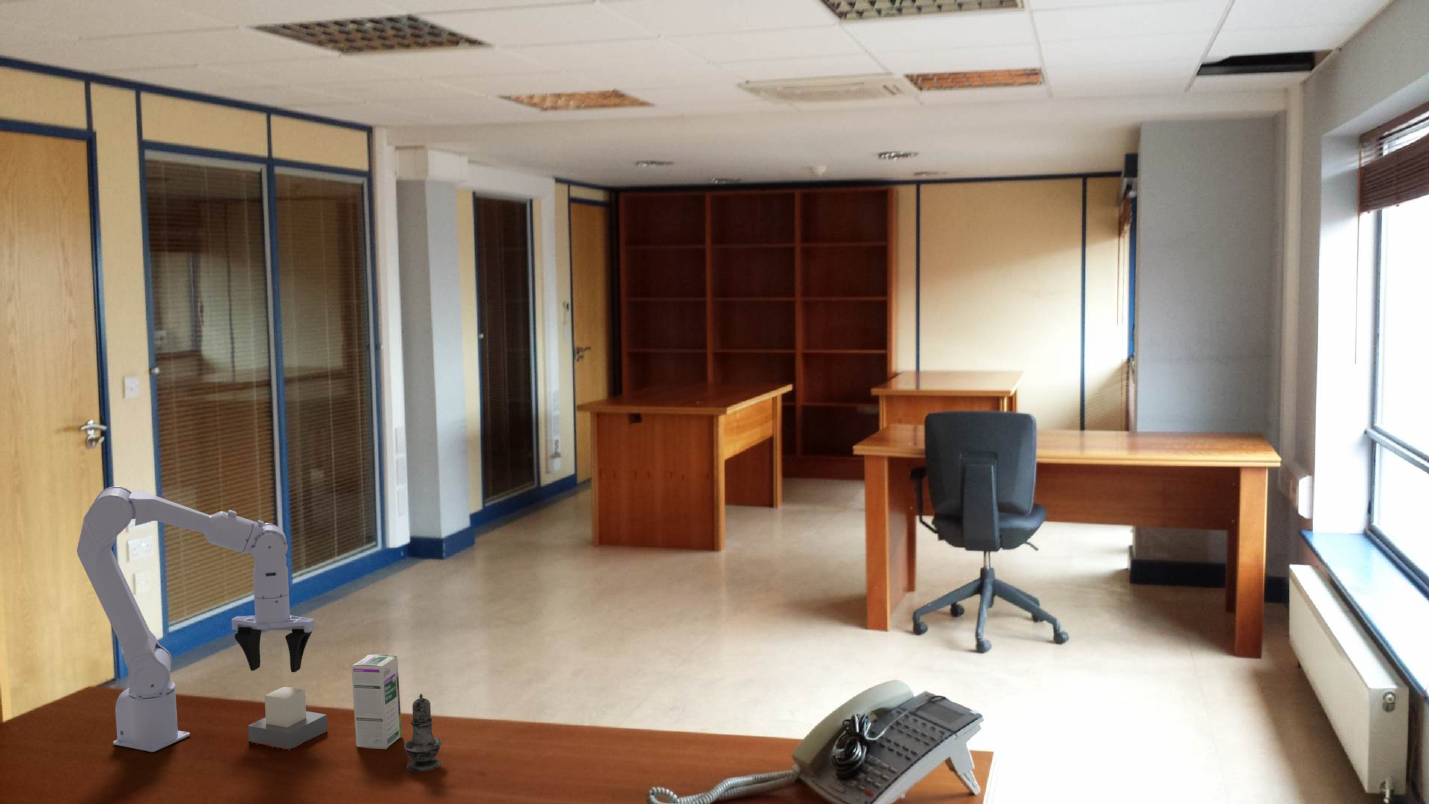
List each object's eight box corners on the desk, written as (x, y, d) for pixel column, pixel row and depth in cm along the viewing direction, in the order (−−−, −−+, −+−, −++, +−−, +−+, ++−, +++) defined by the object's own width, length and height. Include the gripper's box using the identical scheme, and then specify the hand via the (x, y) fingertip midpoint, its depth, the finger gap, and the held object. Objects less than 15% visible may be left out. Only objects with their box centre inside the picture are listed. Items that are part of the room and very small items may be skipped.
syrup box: (386, 749, 198) (383, 665, 196) (354, 747, 199) (350, 663, 197) (402, 736, 203) (399, 654, 202) (370, 734, 205) (367, 653, 203)
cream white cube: (266, 723, 202) (264, 695, 201) (285, 714, 206) (284, 686, 206) (287, 727, 200) (285, 698, 200) (306, 717, 204) (304, 689, 204)
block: (248, 742, 201) (247, 725, 201) (286, 724, 210) (286, 707, 209) (290, 750, 198) (289, 733, 198) (327, 731, 206) (326, 714, 206)
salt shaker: (449, 760, 193) (446, 689, 192) (429, 774, 188) (426, 701, 187) (418, 755, 195) (415, 685, 194) (397, 770, 190) (394, 697, 188)
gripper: (220, 599, 204) (224, 675, 206) (299, 602, 202) (303, 678, 204) (242, 588, 211) (246, 662, 213) (318, 591, 209) (322, 665, 211)
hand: (275, 669), depth 209 cm, fingers open, 7 cm apart
